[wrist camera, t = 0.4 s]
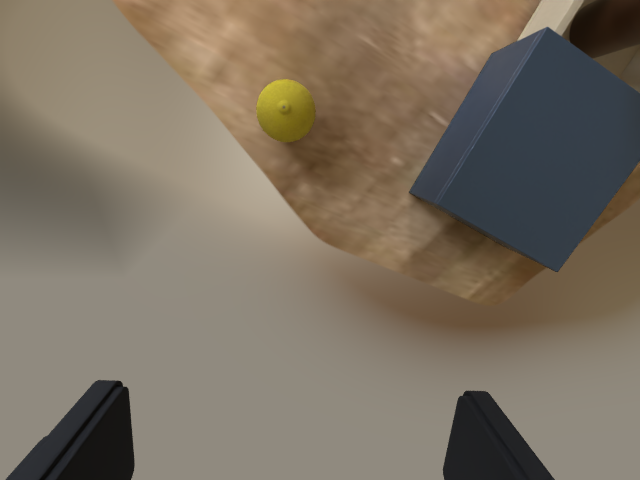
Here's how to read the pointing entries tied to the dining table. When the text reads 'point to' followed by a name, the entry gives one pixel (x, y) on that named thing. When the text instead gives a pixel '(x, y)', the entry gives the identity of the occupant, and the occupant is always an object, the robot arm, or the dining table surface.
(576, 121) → the cabinet
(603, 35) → the brown lidded jar
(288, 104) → the lemon
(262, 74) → the dining table surface
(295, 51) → the dining table surface
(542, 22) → the drawer
